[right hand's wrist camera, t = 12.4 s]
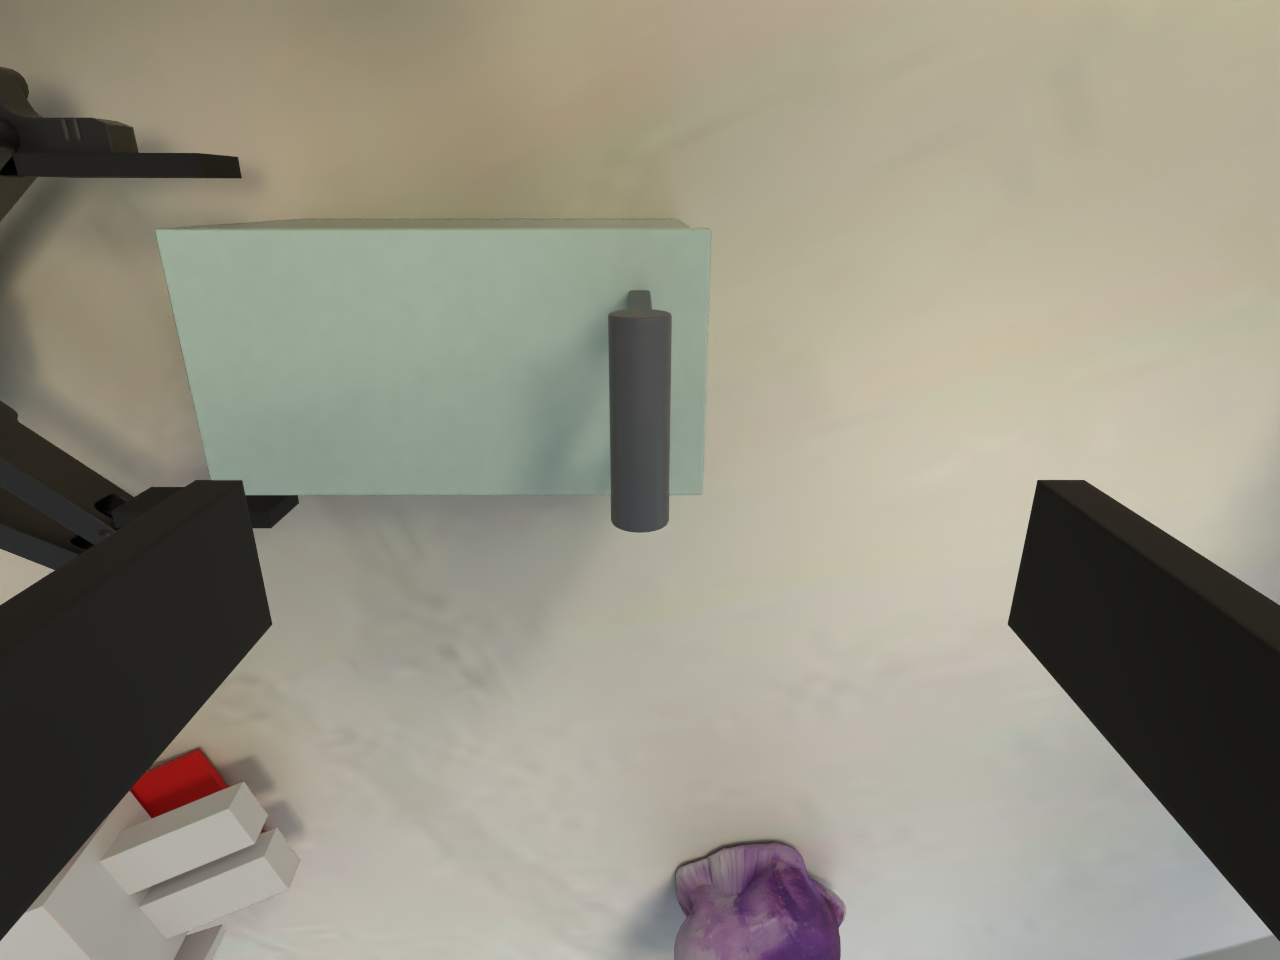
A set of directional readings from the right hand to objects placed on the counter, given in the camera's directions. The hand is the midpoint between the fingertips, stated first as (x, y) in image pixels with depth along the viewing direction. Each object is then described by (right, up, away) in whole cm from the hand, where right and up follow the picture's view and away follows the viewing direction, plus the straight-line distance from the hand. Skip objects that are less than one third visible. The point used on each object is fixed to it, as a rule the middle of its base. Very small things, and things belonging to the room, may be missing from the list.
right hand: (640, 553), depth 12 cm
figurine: (+7, -26, +36) cm, 45 cm away
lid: (-7, +5, +14) cm, 16 cm away
